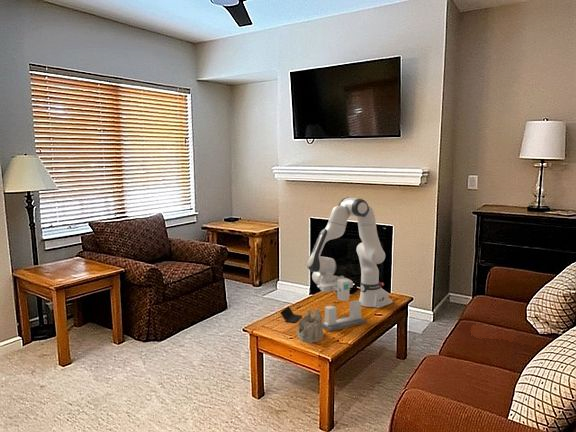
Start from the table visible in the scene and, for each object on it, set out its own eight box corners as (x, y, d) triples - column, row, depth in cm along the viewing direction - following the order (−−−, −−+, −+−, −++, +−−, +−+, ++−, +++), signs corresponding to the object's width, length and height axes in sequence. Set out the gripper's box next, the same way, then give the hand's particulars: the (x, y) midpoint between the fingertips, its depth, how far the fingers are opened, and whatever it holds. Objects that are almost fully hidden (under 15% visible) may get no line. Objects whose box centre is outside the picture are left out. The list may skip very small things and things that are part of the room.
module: (343, 297, 247) (343, 278, 245) (349, 300, 242) (349, 281, 241) (337, 298, 245) (337, 279, 243) (342, 301, 240) (342, 282, 238)
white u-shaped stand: (355, 316, 256) (355, 298, 254) (366, 322, 247) (366, 303, 245) (319, 325, 244) (319, 305, 243) (329, 331, 236) (329, 311, 234)
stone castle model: (306, 326, 242) (305, 301, 239) (329, 335, 232) (329, 309, 228) (287, 337, 231) (286, 311, 228) (311, 347, 220) (311, 320, 217)
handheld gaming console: (298, 321, 247) (288, 306, 248) (288, 327, 248) (278, 313, 250) (303, 316, 258) (293, 302, 259) (293, 322, 259) (284, 308, 261)
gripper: (315, 280, 249) (328, 286, 237) (344, 275, 258) (358, 281, 246) (315, 290, 250) (328, 297, 238) (344, 285, 259) (358, 292, 247)
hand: (344, 289), depth 242 cm, fingers closed on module, 4 cm apart
